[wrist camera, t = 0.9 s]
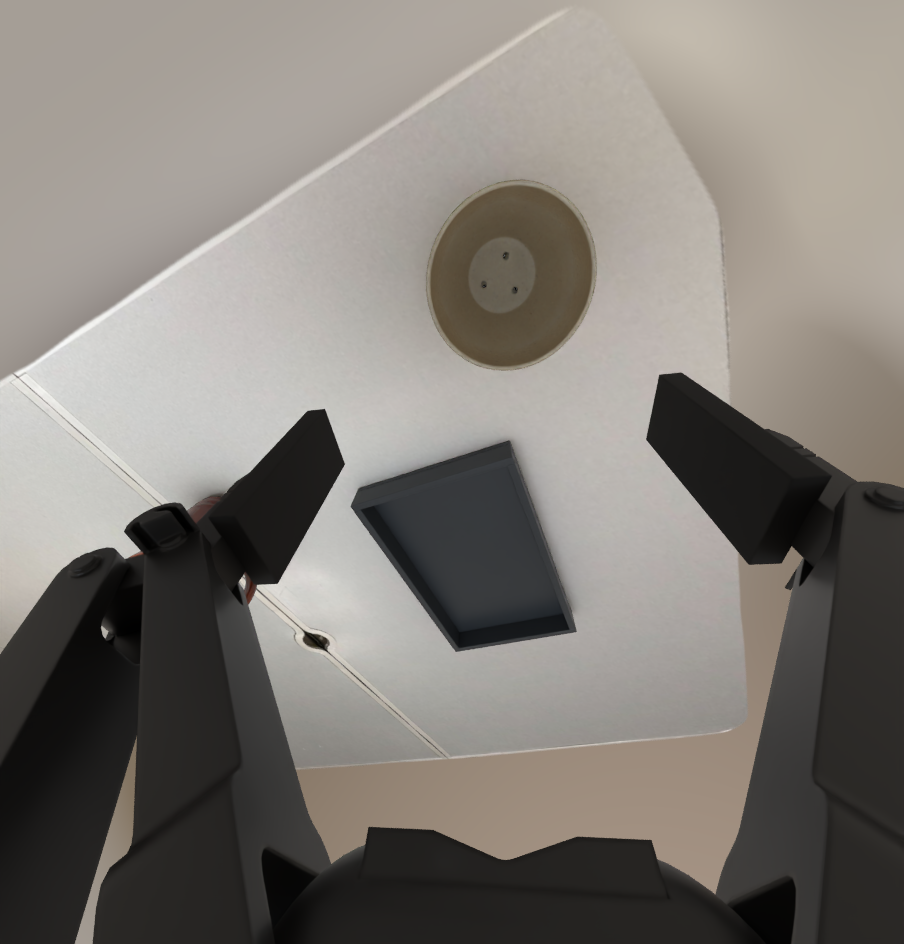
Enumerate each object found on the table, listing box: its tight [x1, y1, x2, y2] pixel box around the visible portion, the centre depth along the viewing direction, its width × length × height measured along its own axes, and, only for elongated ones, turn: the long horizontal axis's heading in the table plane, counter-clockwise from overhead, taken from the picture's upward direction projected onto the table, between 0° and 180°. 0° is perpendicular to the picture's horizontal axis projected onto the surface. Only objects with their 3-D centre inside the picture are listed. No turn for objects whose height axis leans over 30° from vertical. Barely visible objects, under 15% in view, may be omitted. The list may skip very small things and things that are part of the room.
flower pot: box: [426, 180, 596, 371], centre depth 24 cm, size 10×10×7 cm
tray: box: [351, 441, 577, 652], centre depth 43 cm, size 30×18×3 cm, turn 22°
